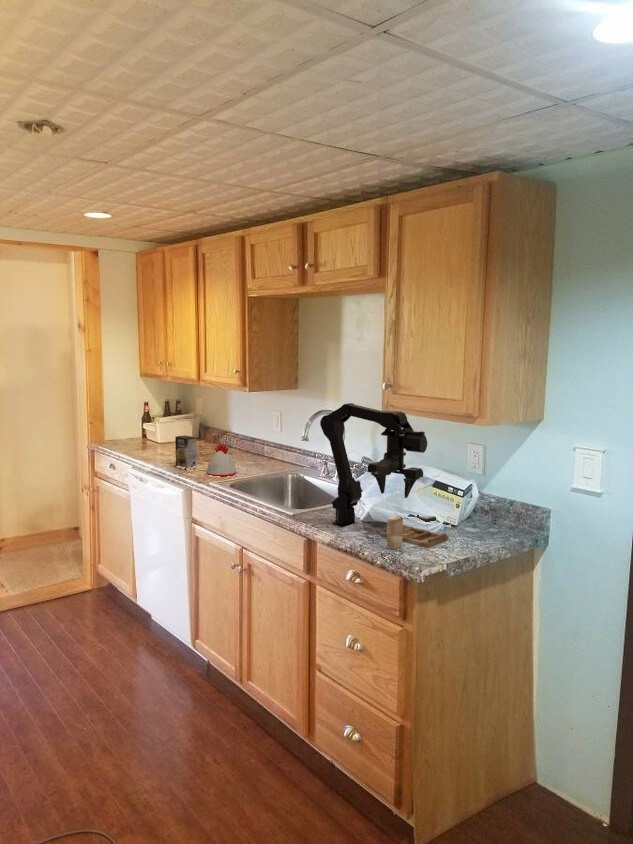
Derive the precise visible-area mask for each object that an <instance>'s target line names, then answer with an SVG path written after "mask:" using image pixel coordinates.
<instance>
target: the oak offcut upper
mask: <svg viewBox="0 0 633 844" xmlns="http://www.w3.org/2000/svg"><path fill="white" fill-rule="evenodd" d="M411 531H412V526H408V527H407V525H404V526H403V530H402V533H403V534H407V533H409V532H411Z"/></svg>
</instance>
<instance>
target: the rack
mask: <svg viewBox="0 0 633 844" xmlns="http://www.w3.org/2000/svg"><path fill="white" fill-rule="evenodd" d="M403 526H405V525H404V524H403ZM406 526H407V525H406ZM407 527H409V526H407ZM411 527H412V526H411ZM412 531H414V532H415V535H414V536H411V537H409V538H407V537H403V536H402V543H407V544H410V545H414V546H417V547H422V548H426V549H430V548H432V547H435V546H436V545H440V544H441V543H444V542H446V541H449V535H447V533H445V532H443V533H437V532H434V531H429V530H426V529H425V530H424V529H421V528H417V527H412ZM380 537H383V538H386V539H387V528H386V529H384V530H383V531H381V532H380Z"/></svg>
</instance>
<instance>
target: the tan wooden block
mask: <svg viewBox="0 0 633 844" xmlns="http://www.w3.org/2000/svg"><path fill="white" fill-rule="evenodd" d="M403 523H404V518H402V517H399V516H397V515H396V516H395V515H393V516H390V517H387V518H386V529H387V538H386V549H389V550H393V551H396V550H398V549H401V548H403V542H402V530H403V525H404V524H403Z"/></svg>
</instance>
